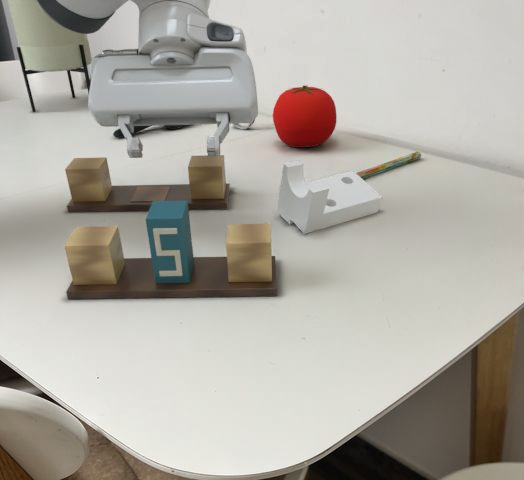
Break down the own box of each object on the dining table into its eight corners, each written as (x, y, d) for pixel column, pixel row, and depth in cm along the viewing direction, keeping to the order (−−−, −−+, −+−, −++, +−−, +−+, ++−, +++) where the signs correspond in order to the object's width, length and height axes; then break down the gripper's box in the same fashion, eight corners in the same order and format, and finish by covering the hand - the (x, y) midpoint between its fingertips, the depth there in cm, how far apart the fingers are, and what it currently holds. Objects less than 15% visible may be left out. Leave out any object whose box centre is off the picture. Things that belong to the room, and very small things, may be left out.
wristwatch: (250, 131, 117) (249, 105, 114) (229, 128, 118) (227, 103, 116) (256, 127, 119) (256, 102, 116) (235, 125, 121) (234, 100, 118)
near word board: (67, 299, 65) (55, 252, 62) (85, 265, 72) (75, 221, 68) (276, 296, 65) (276, 248, 61) (275, 262, 71) (275, 217, 68)
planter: (104, 96, 144) (85, -12, 130) (93, 113, 131) (71, -4, 117) (43, 98, 143) (18, -9, 129) (26, 115, 130) (-4, -2, 116)
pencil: (350, 184, 92) (421, 158, 101) (350, 177, 91) (422, 152, 100) (344, 182, 93) (415, 157, 101) (344, 175, 92) (416, 150, 101)
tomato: (317, 132, 115) (319, 76, 109) (346, 149, 106) (350, 89, 100) (263, 140, 111) (261, 83, 105) (287, 158, 103) (288, 96, 96)
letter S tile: (155, 284, 66) (144, 219, 61) (161, 263, 70) (152, 200, 65) (189, 284, 66) (182, 219, 61) (194, 262, 70) (187, 200, 65)
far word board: (68, 212, 85) (58, 172, 82) (81, 192, 92) (73, 154, 88) (227, 209, 85) (224, 169, 81) (230, 189, 91) (227, 151, 88)
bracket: (303, 239, 79) (313, 192, 73) (276, 210, 82) (283, 163, 76) (375, 217, 84) (390, 172, 78) (347, 191, 87) (359, 146, 82)
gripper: (82, 33, 67) (78, 143, 65) (256, 28, 66) (257, 139, 65) (98, 67, 73) (95, 168, 71) (257, 63, 73) (259, 165, 71)
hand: (174, 154), depth 68 cm, fingers open, 8 cm apart
